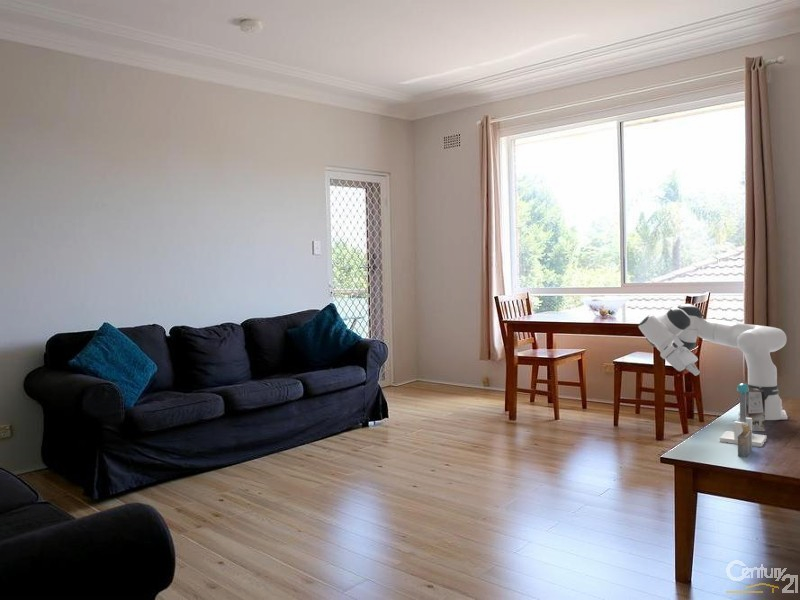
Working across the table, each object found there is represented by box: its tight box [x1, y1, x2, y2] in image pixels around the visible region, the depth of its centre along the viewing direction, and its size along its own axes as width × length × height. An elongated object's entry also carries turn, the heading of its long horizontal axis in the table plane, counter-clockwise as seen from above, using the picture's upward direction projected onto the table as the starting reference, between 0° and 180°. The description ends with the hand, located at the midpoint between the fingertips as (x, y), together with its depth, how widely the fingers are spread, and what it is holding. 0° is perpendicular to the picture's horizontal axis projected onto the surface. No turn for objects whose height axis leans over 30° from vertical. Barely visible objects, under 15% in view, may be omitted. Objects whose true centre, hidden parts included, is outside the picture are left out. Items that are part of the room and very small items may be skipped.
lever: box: [736, 382, 749, 427], centre depth 246 cm, size 6×4×18 cm
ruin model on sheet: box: [737, 424, 753, 458], centre depth 231 cm, size 11×3×10 cm, turn 143°
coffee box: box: [746, 388, 766, 432], centre depth 262 cm, size 9×6×16 cm
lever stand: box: [719, 416, 768, 448], centre depth 246 cm, size 12×14×8 cm
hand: (698, 374), depth 255 cm, fingers closed
